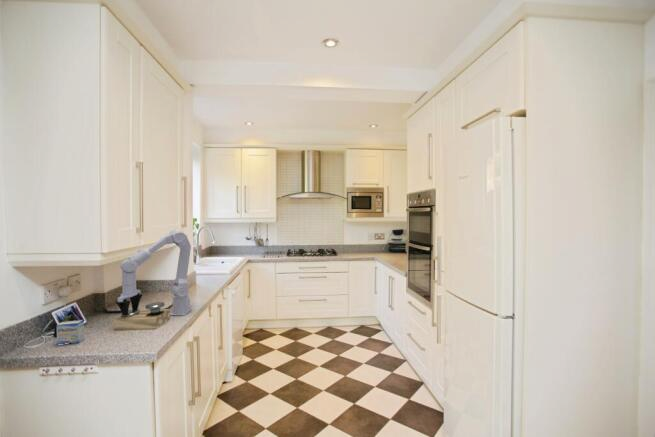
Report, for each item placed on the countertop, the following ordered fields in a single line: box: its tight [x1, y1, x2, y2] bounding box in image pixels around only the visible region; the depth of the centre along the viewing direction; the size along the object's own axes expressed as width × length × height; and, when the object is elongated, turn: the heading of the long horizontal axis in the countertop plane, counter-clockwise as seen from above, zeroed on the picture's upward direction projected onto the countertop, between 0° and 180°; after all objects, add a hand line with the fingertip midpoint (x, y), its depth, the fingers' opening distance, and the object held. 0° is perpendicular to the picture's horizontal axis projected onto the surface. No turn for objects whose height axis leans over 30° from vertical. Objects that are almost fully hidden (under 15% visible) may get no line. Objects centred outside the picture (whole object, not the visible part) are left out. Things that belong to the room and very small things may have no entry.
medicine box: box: [56, 319, 85, 345], centre depth 127 cm, size 8×4×9 cm, turn 106°
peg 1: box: [119, 309, 141, 317], centre depth 147 cm, size 8×8×5 cm
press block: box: [113, 308, 171, 331], centre depth 147 cm, size 13×19×5 cm
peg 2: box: [145, 301, 165, 315], centre depth 147 cm, size 8×8×5 cm
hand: (130, 312), depth 147 cm, fingers open, 7 cm apart
